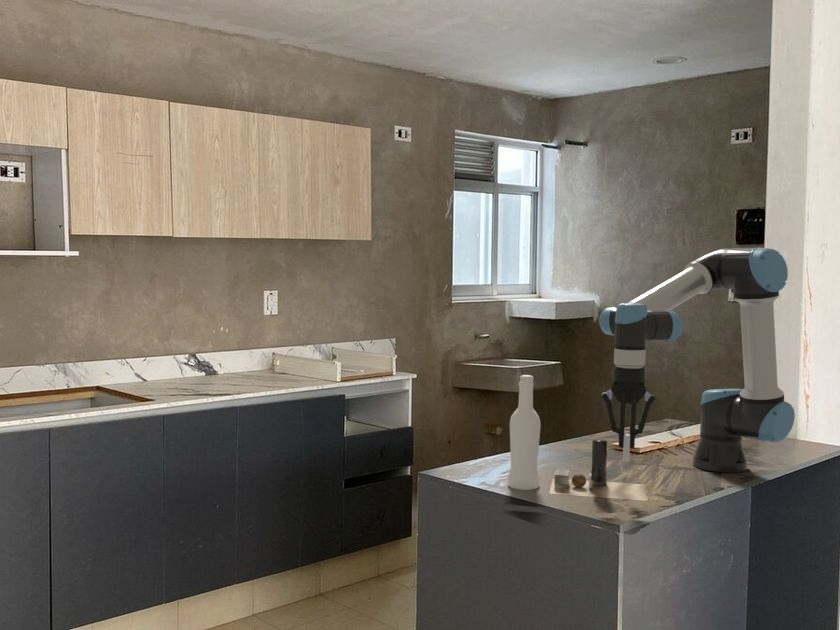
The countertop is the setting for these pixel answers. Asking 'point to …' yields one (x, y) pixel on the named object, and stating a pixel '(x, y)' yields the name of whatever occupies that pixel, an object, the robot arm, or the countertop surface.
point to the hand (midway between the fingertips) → (625, 460)
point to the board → (597, 488)
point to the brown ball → (579, 480)
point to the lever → (598, 461)
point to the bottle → (524, 439)
